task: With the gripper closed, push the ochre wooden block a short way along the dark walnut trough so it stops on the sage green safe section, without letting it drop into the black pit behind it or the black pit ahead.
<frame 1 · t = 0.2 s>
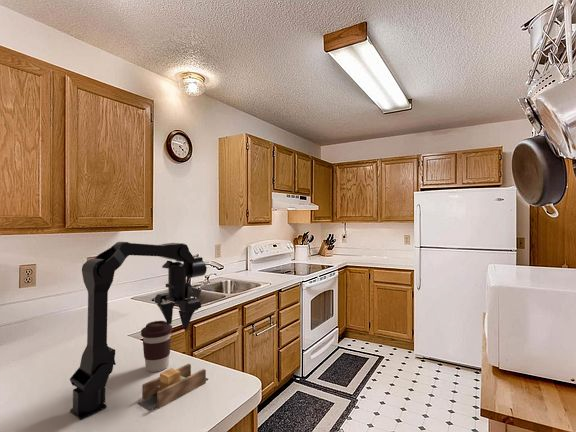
hand: (177, 326, 108), 15 cm above the countertop, tool pointing down, fingers open, 9 cm apart
trough: (175, 390, 95), on the countertop
coffee cup: (157, 367, 110), on the countertop, touching gripper
block: (170, 386, 93), point 2 cm above the countertop, touching trough
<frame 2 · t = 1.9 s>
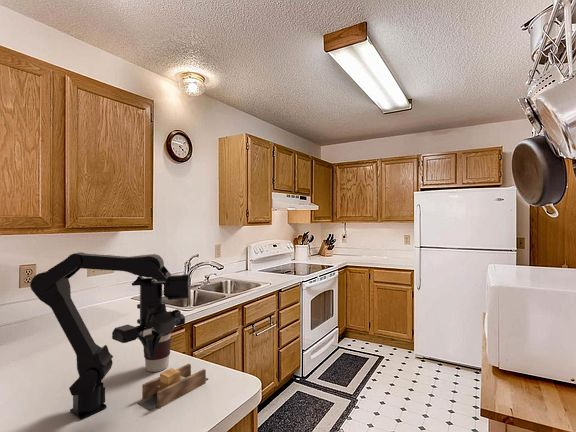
hand: (151, 357, 88), 13 cm above the countertop, tool pointing down, fingers closed
coffee cup: (157, 368, 110), on the countertop
everything else where it was.
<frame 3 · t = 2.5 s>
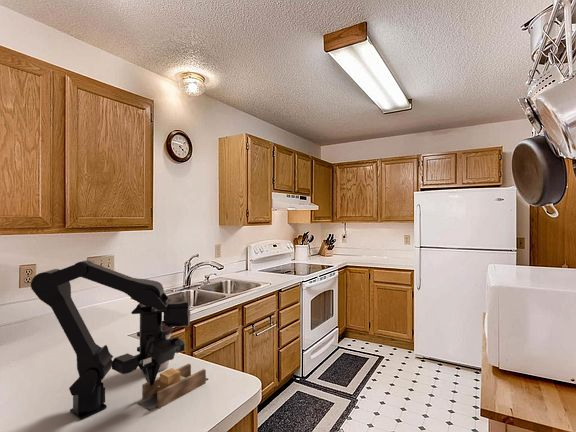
hand: (150, 385, 88), 5 cm above the countertop, tool pointing down, fingers closed
nothing on the countertop moved.
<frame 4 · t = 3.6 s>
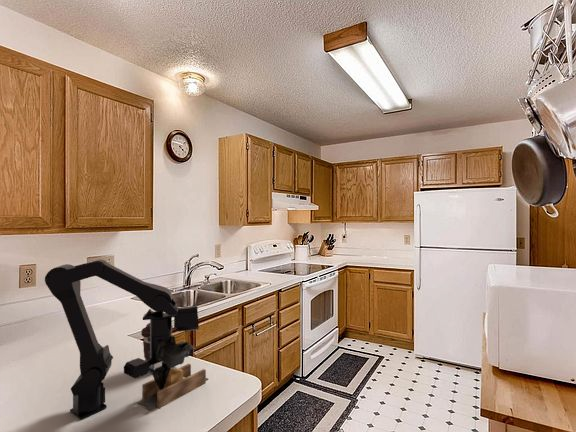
hand: (161, 388, 91), 3 cm above the countertop, tool pointing down, fingers closed
block: (172, 384, 94), point 2 cm above the countertop, touching gripper
everything else where it was.
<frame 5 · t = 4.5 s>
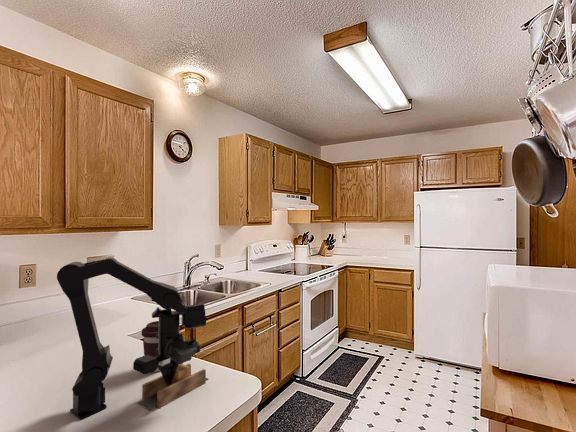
hand: (168, 385, 93), 3 cm above the countertop, tool pointing down, fingers closed
block: (180, 381, 96), point 2 cm above the countertop, touching gripper, trough
everything else where it was.
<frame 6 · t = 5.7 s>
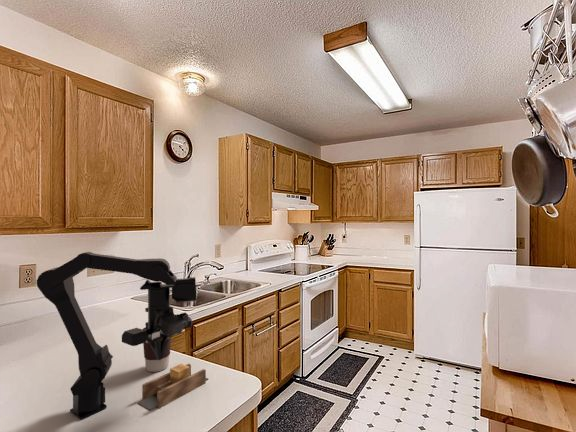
hand: (159, 359, 90), 11 cm above the countertop, tool pointing down, fingers closed
block: (180, 381, 96), point 2 cm above the countertop, touching trough
everything else where it was.
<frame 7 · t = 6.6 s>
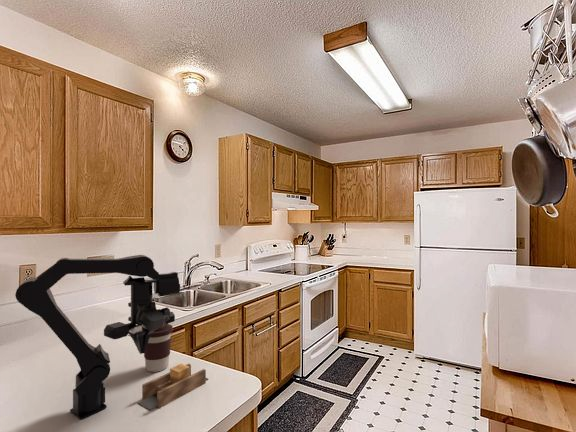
hand: (141, 353, 93), 12 cm above the countertop, tool pointing down, fingers closed
nothing on the countertop moved.
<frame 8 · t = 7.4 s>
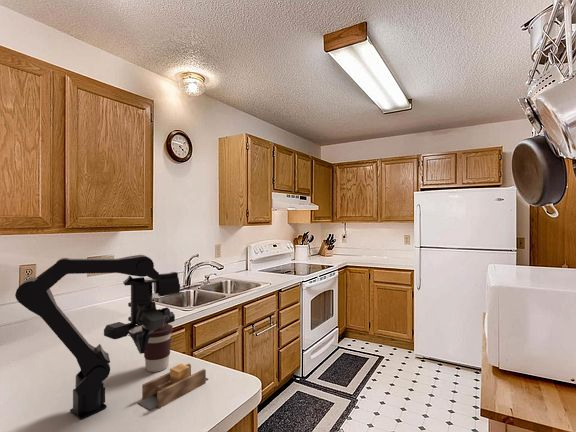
hand: (141, 353, 93), 12 cm above the countertop, tool pointing down, fingers closed
nothing on the countertop moved.
at the end: block 0.2 cm from the target spot on the trough, point 2.0 cm above the trough's base; block tilted 0°; block moved 3.5 cm from its start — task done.
